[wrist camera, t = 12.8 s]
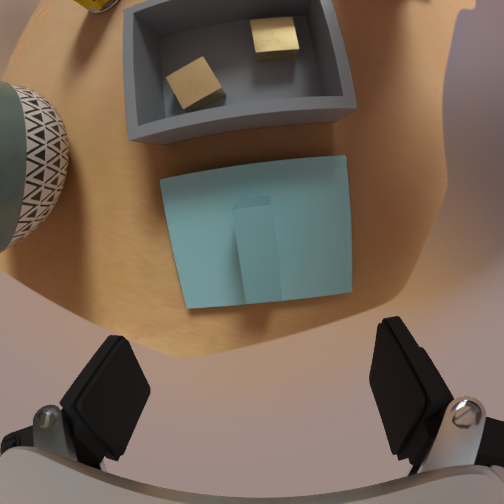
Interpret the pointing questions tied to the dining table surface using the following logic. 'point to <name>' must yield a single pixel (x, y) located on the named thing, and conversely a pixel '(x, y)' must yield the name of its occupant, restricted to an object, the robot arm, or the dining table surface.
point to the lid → (261, 231)
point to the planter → (29, 161)
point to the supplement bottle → (97, 5)
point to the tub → (231, 67)
